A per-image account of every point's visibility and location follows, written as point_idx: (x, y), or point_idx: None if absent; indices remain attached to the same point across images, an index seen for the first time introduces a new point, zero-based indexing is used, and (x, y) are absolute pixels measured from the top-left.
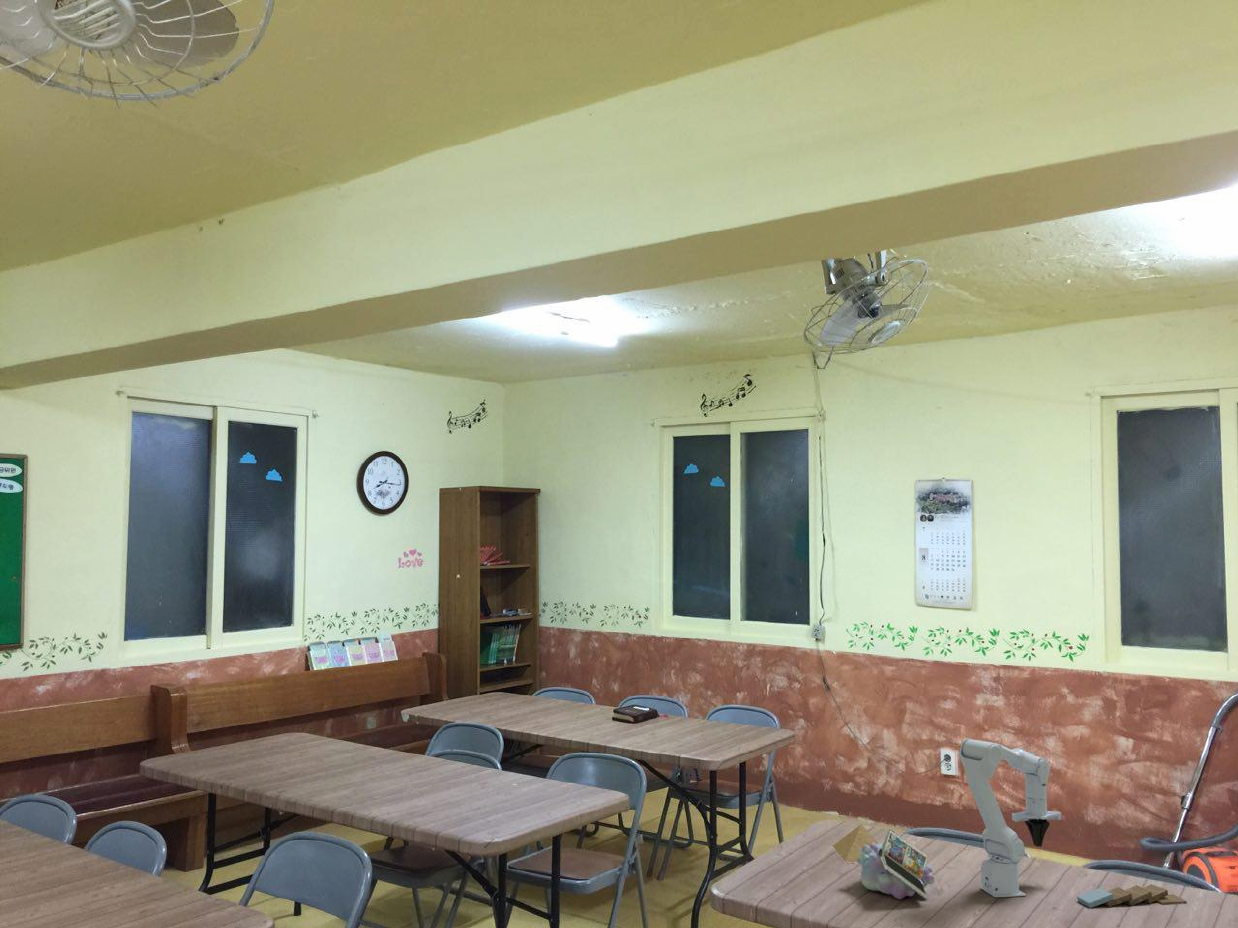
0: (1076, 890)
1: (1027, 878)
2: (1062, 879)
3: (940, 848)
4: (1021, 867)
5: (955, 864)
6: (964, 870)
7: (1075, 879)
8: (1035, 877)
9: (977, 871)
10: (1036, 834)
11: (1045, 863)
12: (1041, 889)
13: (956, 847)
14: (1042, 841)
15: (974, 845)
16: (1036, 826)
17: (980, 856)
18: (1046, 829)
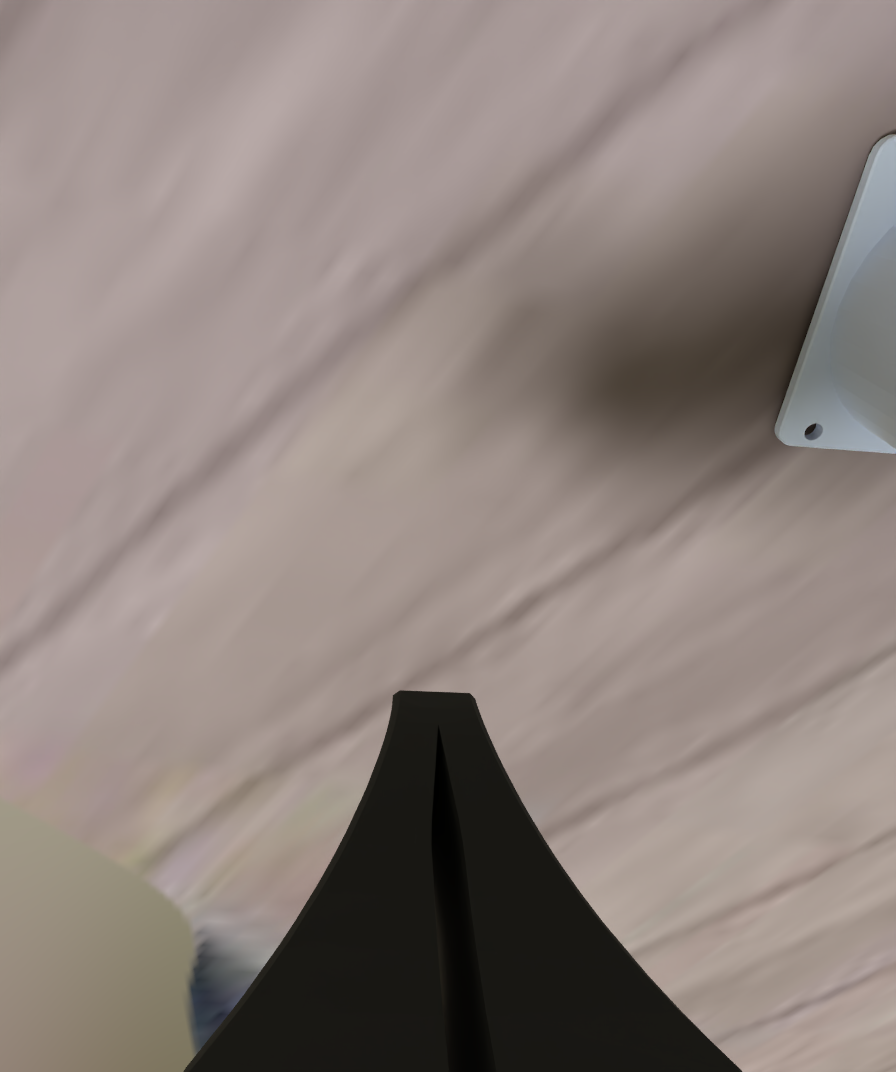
0: (164, 176)
1: (455, 576)
2: (141, 499)
3: None
4: (334, 769)
5: (750, 864)
6: (793, 780)
7: (6, 476)
8: (367, 584)
9: (722, 753)
10: (556, 858)
11: (92, 805)
12: (536, 298)
13: None
14: (390, 740)
15: None
16: (665, 1060)
17: None
18: (293, 955)
